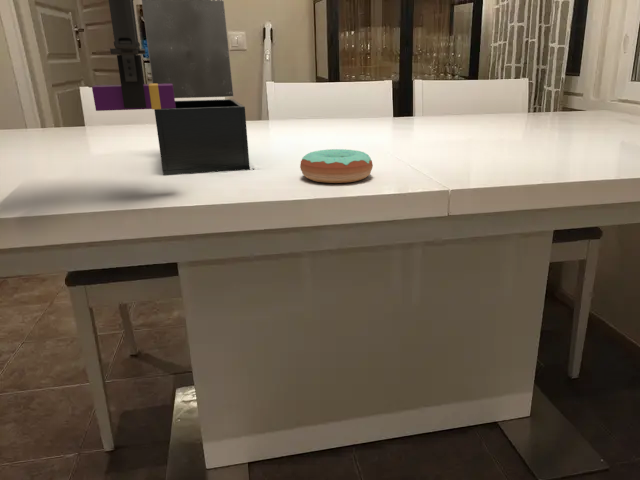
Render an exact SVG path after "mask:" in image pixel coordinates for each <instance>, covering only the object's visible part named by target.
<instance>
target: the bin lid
mask: <svg viewBox="0 0 640 480" xmlns="http://www.w3.org/2000/svg"><path fill="white" fill-rule="evenodd" d="M141 6H142V13H143V21H144V28H145V29H144V30H145V36H146V43H147V51H148V58H149V66H150V73H151V81H152V84H154V83H158V84H173V90H174V98H175V99H210V98H212V99H213V98H233V97H234V89H233V79H232V68H231V59H230V49H229V40H228V30H227V20H226V19H227V18H226V10H225V1H224V0H141Z"/></svg>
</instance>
